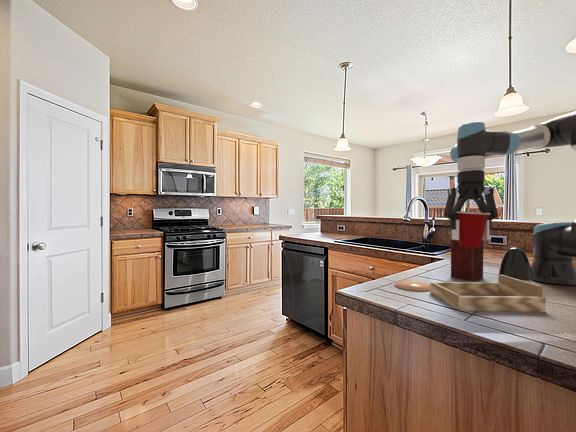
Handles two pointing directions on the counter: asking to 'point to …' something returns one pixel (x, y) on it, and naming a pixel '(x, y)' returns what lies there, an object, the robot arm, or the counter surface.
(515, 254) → the black bullet-shaped dome
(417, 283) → the saucer
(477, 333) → the counter surface
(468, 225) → the plastic cup
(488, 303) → the tray
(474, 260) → the red canister with knob
